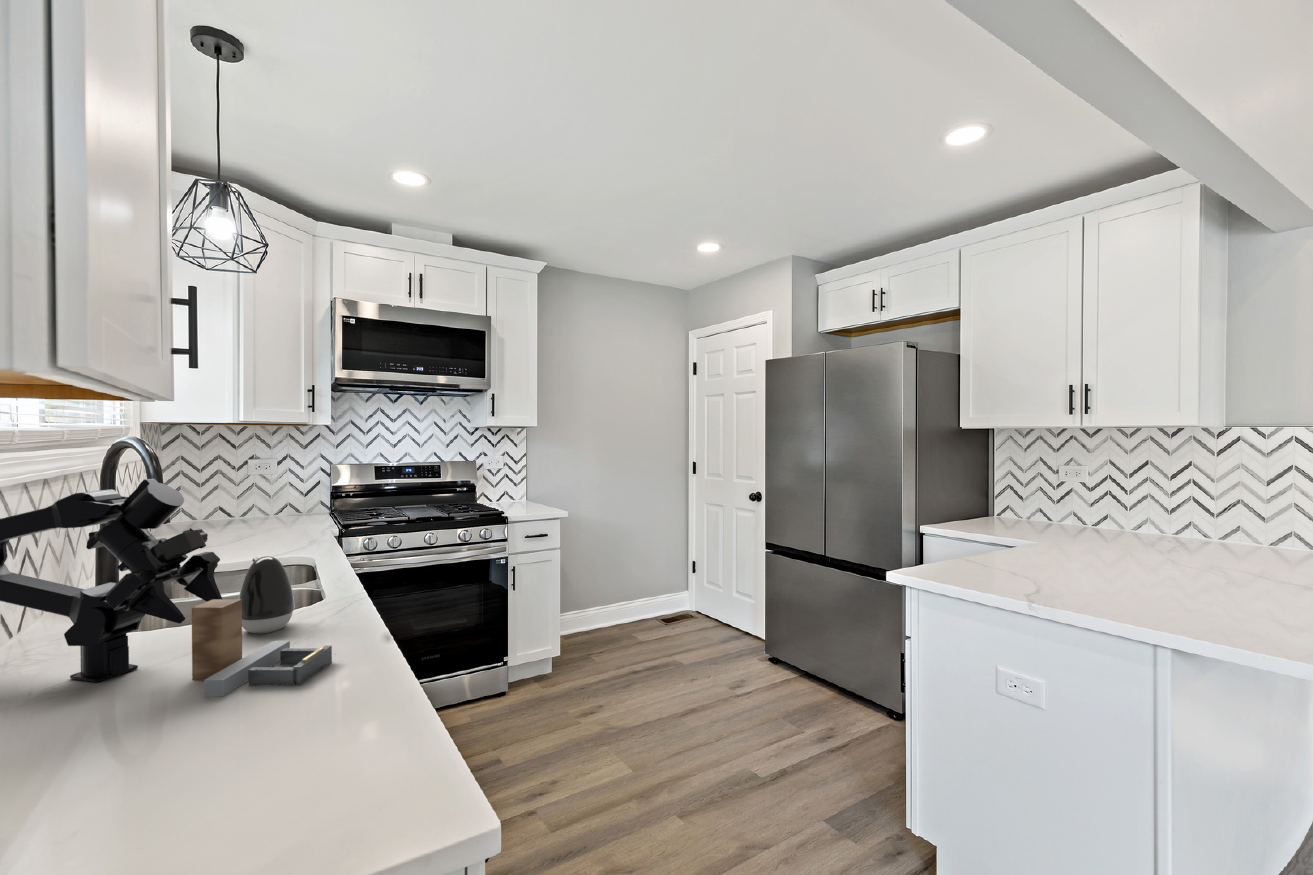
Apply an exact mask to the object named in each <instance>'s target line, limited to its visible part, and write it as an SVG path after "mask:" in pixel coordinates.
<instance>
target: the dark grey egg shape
mask: <svg viewBox="0 0 1313 875" xmlns="http://www.w3.org/2000/svg"><path fill="white" fill-rule="evenodd" d="M251 561H252V563H251V564H250V566H249V568H248V569H247V571H246V573H245V576H244V578H243V581H242V583H241V587H240V590H239V594H238V598H237V599H242V629H243V630H245V631H246V632H249V633H252V634H258V635H259V634H269V633H273V632H276V631H278V630H280V629H283V628H284V627H285V626H286V625H287V624H288V623H289V622H290V620H291V618H292V616H293V612H294V611H295V608H296V606H295V598H294V593H293V588H292V585H291V581H290V579H289V576H288V573H287V571H286V569H285V567H284V565H283V564H282V562H280V560H279V559H277V558H276V557H274V556H268V555H267V556H261V557H259V558H258V557H253V558H252V560H251Z"/></svg>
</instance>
